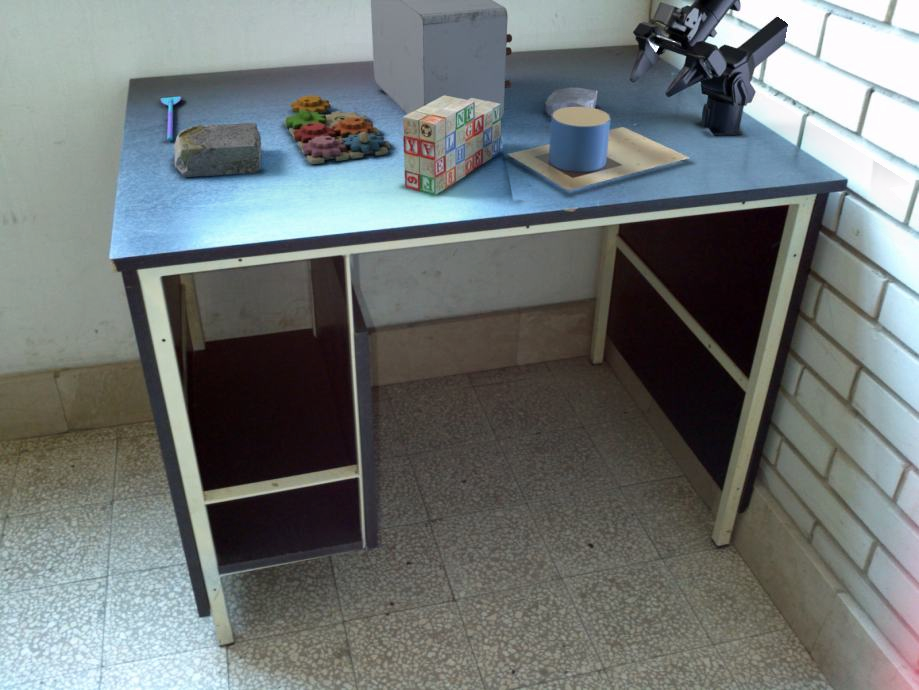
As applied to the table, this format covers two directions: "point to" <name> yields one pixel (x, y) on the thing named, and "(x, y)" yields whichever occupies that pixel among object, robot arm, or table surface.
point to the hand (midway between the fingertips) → (648, 88)
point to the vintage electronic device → (440, 50)
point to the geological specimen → (218, 150)
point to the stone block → (570, 99)
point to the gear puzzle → (332, 132)
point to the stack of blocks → (449, 141)
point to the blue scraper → (170, 113)
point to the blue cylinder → (579, 139)
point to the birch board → (622, 159)
